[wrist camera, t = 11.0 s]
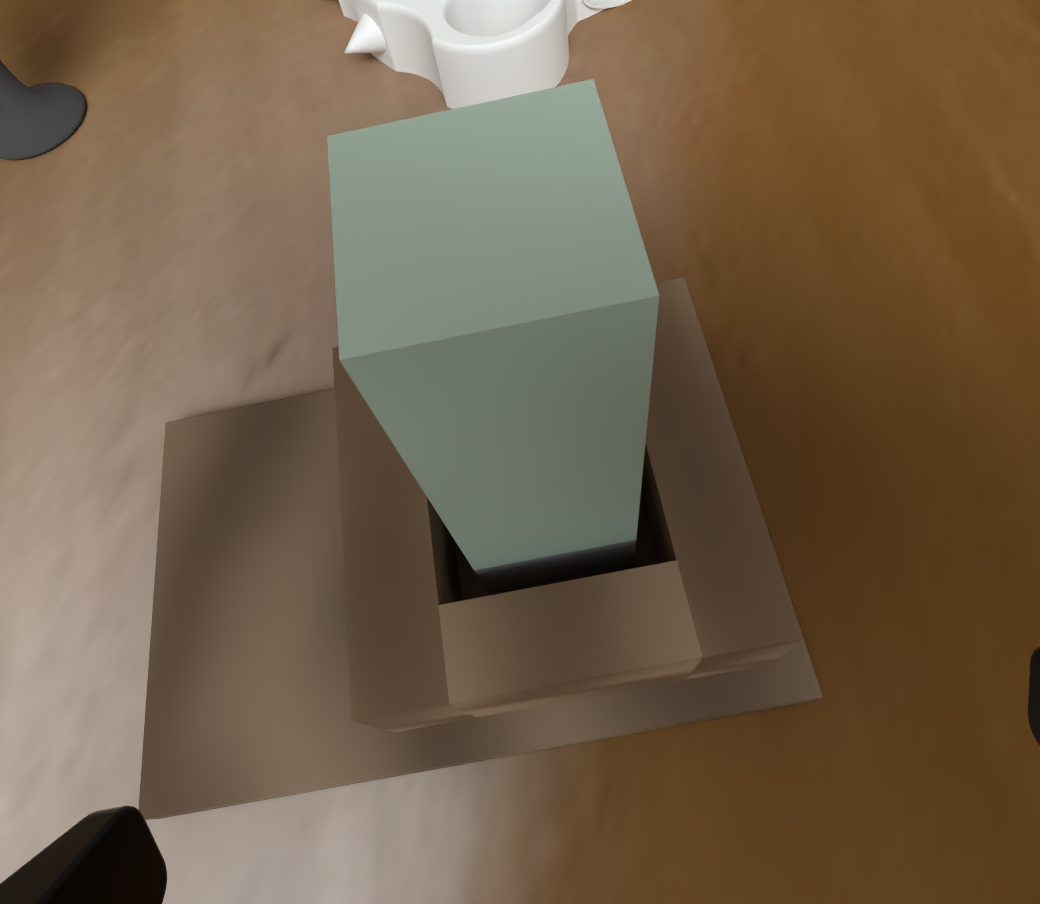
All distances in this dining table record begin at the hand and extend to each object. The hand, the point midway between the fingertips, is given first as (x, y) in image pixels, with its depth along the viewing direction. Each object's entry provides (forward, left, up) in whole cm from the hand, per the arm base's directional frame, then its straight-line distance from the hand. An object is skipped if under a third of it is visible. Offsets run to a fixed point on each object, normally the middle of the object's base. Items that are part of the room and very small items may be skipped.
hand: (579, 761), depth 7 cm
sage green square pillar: (+5, -5, -12) cm, 14 cm away
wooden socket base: (+7, -3, -13) cm, 15 cm away
